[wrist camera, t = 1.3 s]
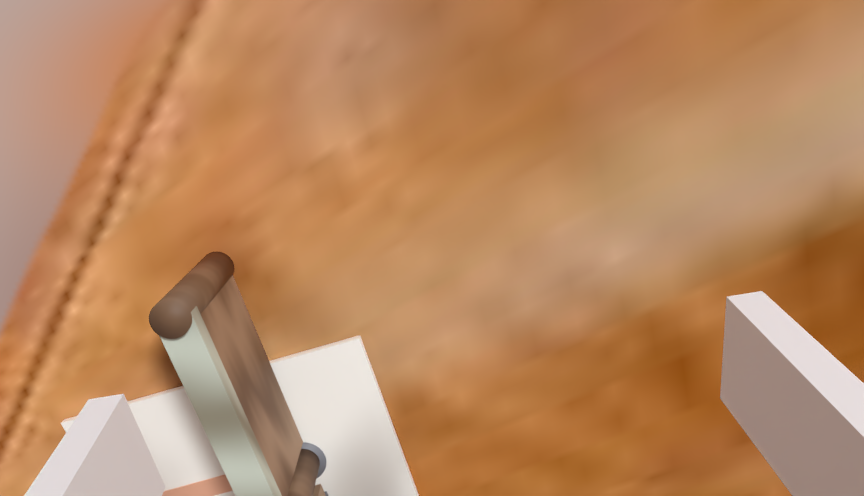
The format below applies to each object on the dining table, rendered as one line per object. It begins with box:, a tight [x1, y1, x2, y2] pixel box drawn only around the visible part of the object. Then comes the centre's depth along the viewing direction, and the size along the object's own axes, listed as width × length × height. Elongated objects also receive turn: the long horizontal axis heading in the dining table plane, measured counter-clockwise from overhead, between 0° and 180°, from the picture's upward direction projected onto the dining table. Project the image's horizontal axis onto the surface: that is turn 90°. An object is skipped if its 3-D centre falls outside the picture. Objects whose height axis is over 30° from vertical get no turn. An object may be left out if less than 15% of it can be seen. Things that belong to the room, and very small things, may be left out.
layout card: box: [61, 335, 419, 496], centre depth 40 cm, size 16×19×1 cm
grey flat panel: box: [149, 252, 303, 496], centre depth 33 cm, size 13×2×7 cm, turn 17°
